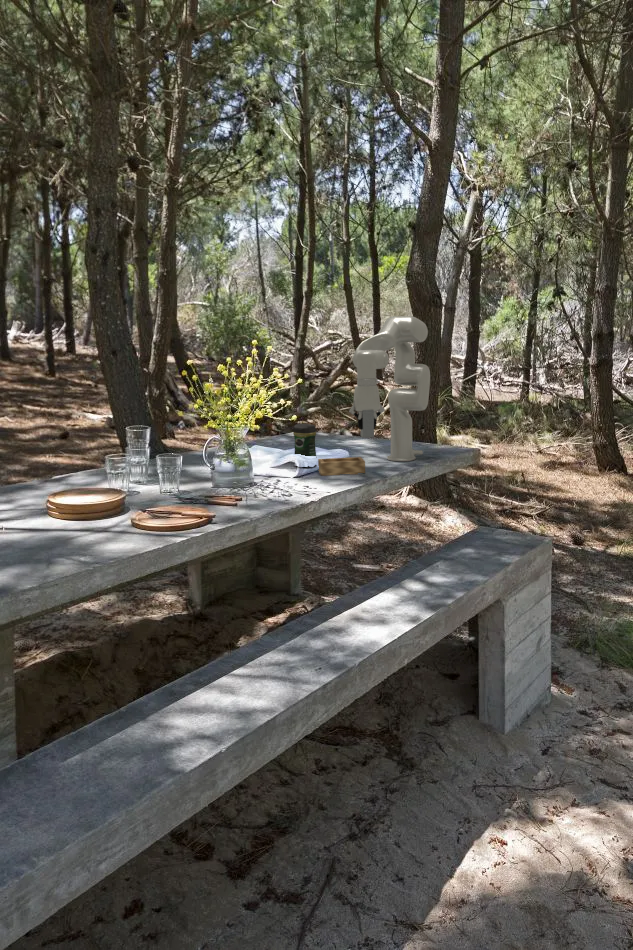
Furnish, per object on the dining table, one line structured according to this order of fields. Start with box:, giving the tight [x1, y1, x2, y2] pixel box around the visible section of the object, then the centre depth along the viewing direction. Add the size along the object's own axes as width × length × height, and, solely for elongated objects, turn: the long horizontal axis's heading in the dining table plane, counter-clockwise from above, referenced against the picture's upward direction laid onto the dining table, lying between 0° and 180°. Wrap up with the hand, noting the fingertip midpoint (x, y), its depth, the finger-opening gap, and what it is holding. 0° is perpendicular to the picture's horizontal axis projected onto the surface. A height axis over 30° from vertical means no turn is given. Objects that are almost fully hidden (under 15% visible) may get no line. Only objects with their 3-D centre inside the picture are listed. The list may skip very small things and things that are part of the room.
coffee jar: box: [292, 423, 317, 457], centre depth 348 cm, size 10×8×19 cm
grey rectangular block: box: [360, 410, 375, 439], centre depth 324 cm, size 4×4×11 cm
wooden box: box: [317, 456, 366, 477], centre depth 334 cm, size 18×10×5 cm, turn 97°
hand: (367, 428), depth 325 cm, fingers closed on grey rectangular block, 4 cm apart
